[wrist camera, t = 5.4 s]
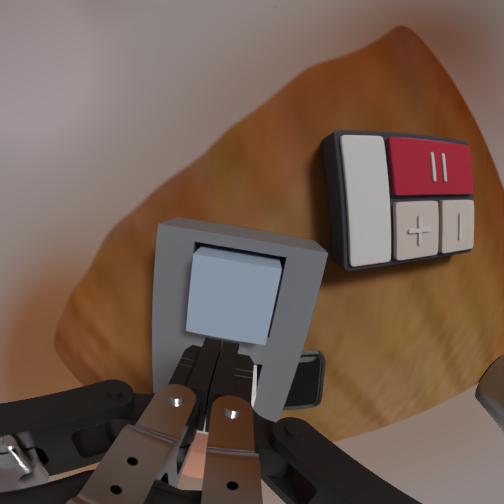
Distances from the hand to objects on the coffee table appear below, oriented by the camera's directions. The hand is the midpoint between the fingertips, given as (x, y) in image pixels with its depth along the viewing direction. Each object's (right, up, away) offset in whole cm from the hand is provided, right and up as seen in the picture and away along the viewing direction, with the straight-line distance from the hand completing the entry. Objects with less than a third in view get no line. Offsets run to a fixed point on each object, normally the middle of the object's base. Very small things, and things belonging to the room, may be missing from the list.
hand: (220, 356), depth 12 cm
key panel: (-1, -6, +15) cm, 16 cm away
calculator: (+15, +10, +11) cm, 22 cm away
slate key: (0, +2, +10) cm, 10 cm away
